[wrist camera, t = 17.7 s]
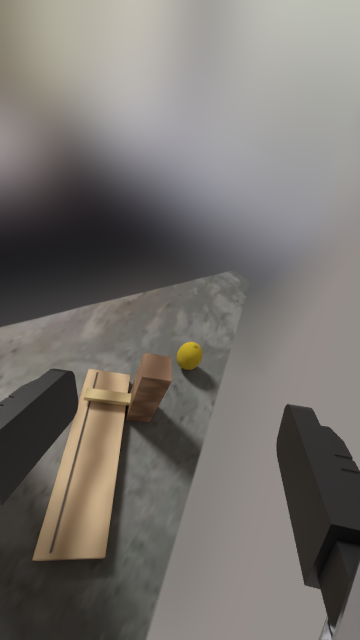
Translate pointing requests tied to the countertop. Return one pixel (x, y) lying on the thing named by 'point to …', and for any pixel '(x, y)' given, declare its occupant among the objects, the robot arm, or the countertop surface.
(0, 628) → the countertop surface
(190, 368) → the lemon
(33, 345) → the countertop surface
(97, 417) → the board
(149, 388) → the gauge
